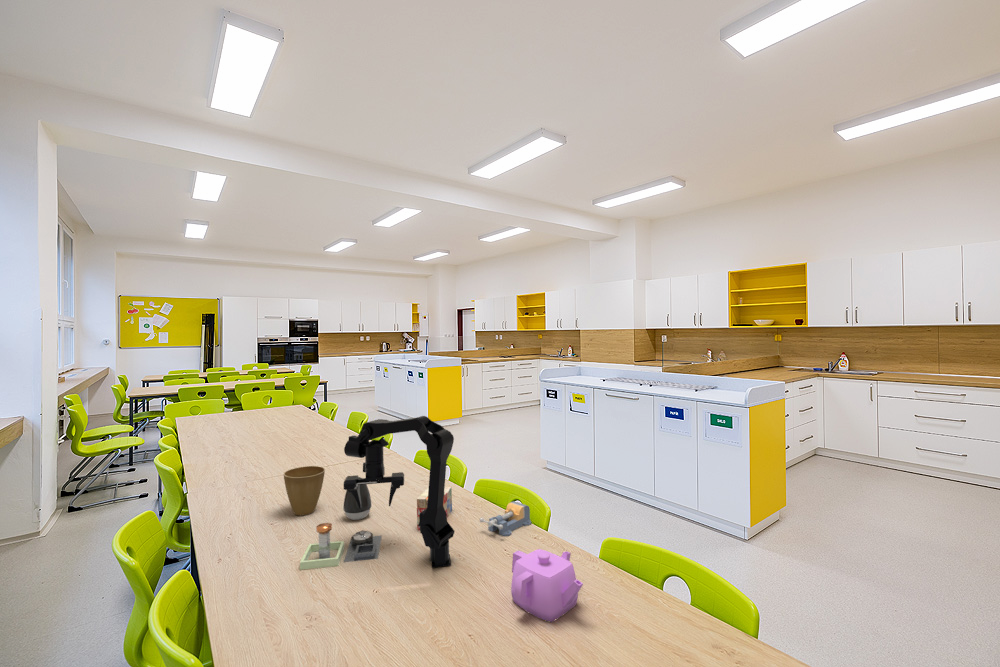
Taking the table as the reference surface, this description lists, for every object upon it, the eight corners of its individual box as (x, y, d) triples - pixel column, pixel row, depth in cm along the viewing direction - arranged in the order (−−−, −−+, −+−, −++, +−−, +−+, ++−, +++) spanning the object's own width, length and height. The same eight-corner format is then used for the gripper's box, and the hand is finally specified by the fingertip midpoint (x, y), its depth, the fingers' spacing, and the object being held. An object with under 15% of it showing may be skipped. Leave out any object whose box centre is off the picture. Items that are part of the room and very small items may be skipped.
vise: (512, 516, 168) (512, 498, 168) (534, 523, 161) (533, 505, 161) (478, 532, 155) (478, 513, 155) (500, 541, 148) (500, 521, 148)
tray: (338, 569, 131) (338, 558, 131) (300, 573, 130) (299, 562, 130) (344, 550, 143) (344, 540, 143) (309, 553, 141) (309, 544, 141)
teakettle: (510, 584, 122) (509, 539, 122) (572, 583, 122) (571, 538, 122) (512, 625, 105) (512, 573, 105) (584, 623, 105) (583, 571, 105)
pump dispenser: (337, 520, 167) (336, 479, 167) (357, 510, 176) (357, 471, 176) (357, 525, 162) (356, 483, 162) (377, 514, 171) (376, 475, 171)
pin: (330, 561, 135) (330, 528, 135) (315, 563, 134) (314, 529, 134) (333, 554, 139) (333, 522, 139) (318, 556, 138) (318, 523, 138)
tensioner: (377, 561, 135) (377, 547, 135) (343, 565, 133) (343, 550, 133) (381, 538, 151) (381, 525, 151) (351, 541, 149) (351, 528, 149)
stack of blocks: (437, 509, 176) (436, 478, 176) (452, 510, 174) (452, 479, 174) (417, 533, 155) (416, 498, 155) (434, 534, 153) (433, 499, 153)
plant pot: (290, 523, 164) (289, 479, 164) (279, 511, 176) (279, 470, 176) (330, 512, 174) (330, 471, 174) (318, 501, 185) (318, 463, 185)
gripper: (404, 451, 154) (405, 496, 154) (348, 454, 151) (348, 500, 151) (403, 459, 144) (404, 508, 144) (342, 463, 140) (343, 513, 140)
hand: (375, 507), depth 145 cm, fingers open, 9 cm apart
